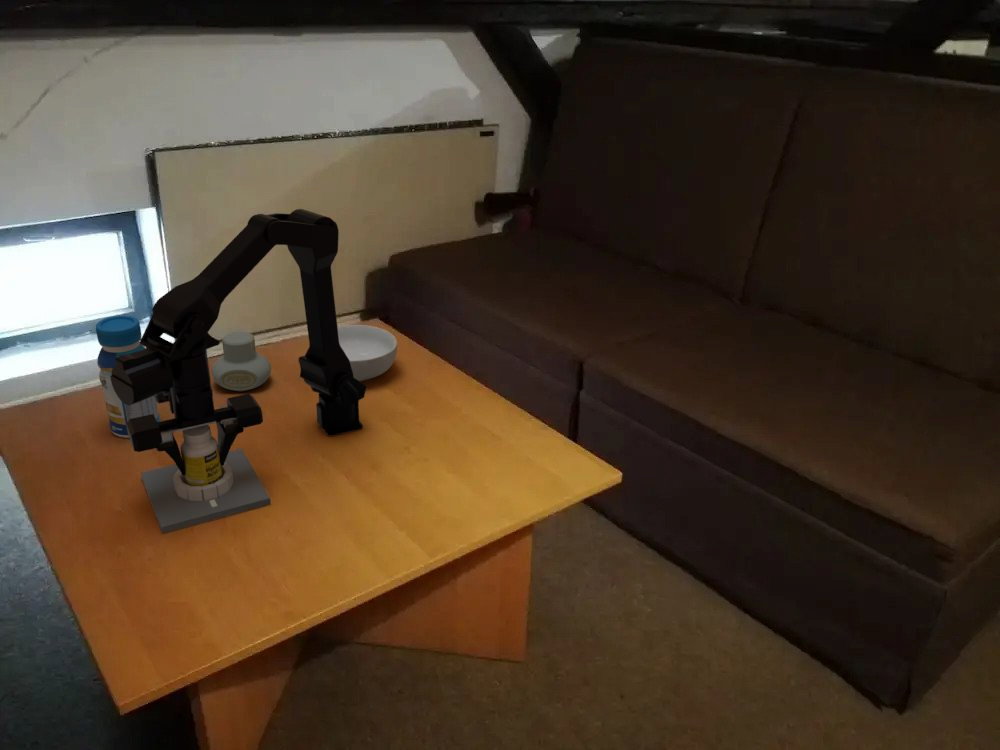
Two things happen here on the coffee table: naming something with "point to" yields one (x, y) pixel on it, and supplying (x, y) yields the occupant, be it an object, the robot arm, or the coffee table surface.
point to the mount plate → (204, 494)
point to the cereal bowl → (367, 349)
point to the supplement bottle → (200, 457)
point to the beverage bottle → (116, 341)
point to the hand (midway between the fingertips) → (202, 468)
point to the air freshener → (240, 363)
